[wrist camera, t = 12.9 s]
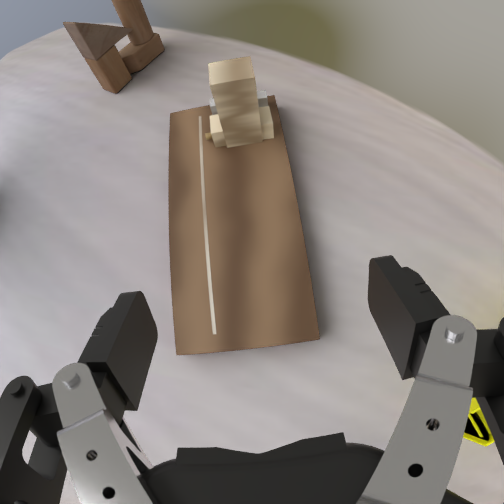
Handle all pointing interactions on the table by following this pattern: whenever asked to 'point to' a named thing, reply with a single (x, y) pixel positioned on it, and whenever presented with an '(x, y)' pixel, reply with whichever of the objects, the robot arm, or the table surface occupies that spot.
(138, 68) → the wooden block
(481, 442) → the yellow toy chassis
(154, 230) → the table surface
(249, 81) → the beige tall blocky piece
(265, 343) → the walnut board
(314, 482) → the robot arm
